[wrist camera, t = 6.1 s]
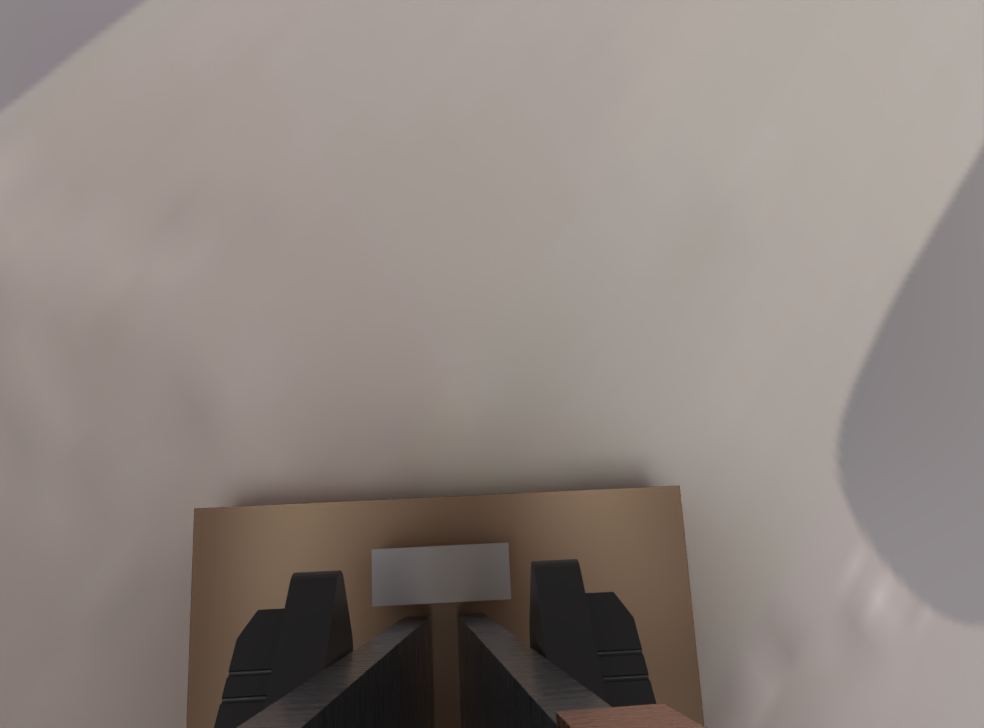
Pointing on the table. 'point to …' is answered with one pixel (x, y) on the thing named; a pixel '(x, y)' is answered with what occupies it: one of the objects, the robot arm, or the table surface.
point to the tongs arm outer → (534, 688)
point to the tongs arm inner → (366, 686)
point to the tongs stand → (446, 575)
